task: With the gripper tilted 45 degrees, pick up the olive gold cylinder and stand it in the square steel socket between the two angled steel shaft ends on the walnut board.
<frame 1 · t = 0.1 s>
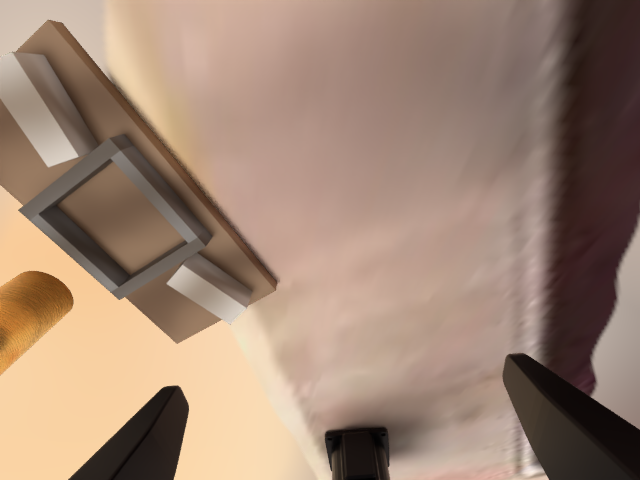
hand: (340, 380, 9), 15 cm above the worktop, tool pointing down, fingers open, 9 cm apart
olive gold cylinder: (43, 294, 25), on the worktop
shaft rig: (135, 214, 22), on the worktop
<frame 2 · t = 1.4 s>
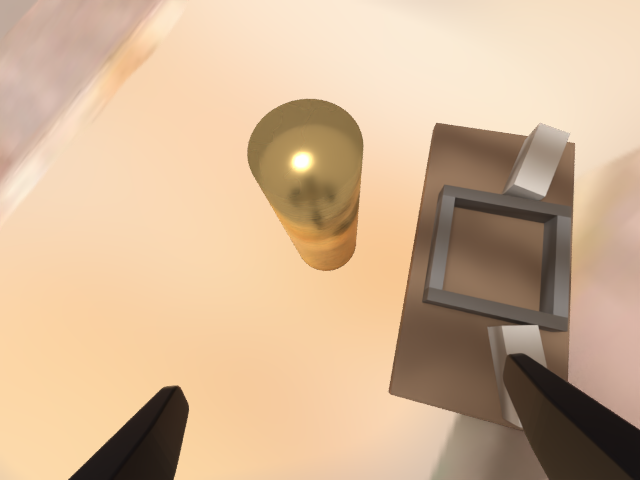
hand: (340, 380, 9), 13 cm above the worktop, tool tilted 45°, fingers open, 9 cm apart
olive gold cylinder: (326, 241, 24), on the worktop
shaft rig: (484, 261, 23), on the worktop
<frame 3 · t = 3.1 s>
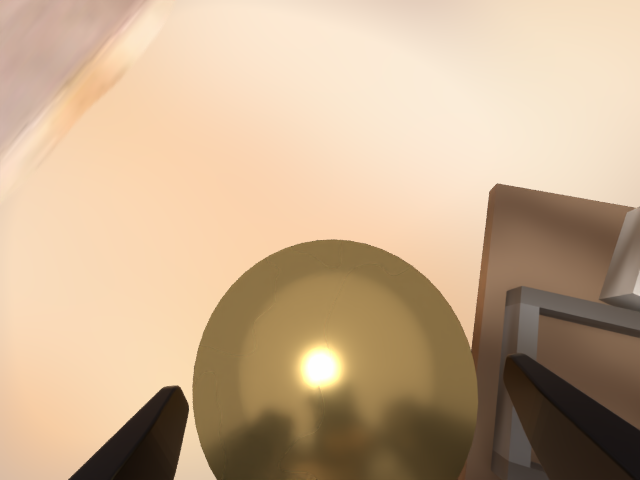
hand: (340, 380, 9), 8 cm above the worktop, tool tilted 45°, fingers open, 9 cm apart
olive gold cylinder: (343, 353, 17), on the worktop
shaft rig: (577, 395, 15), on the worktop
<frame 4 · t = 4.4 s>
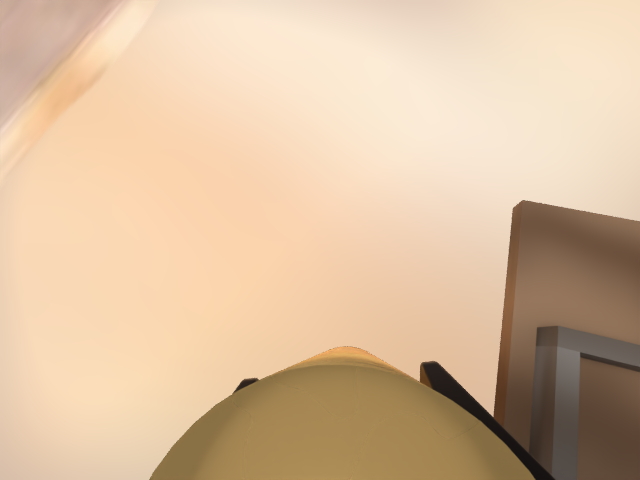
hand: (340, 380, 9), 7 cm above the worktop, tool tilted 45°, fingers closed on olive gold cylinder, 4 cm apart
olive gold cylinder: (347, 397, 15), on the worktop, touching gripper
shaft rig: (621, 451, 13), on the worktop
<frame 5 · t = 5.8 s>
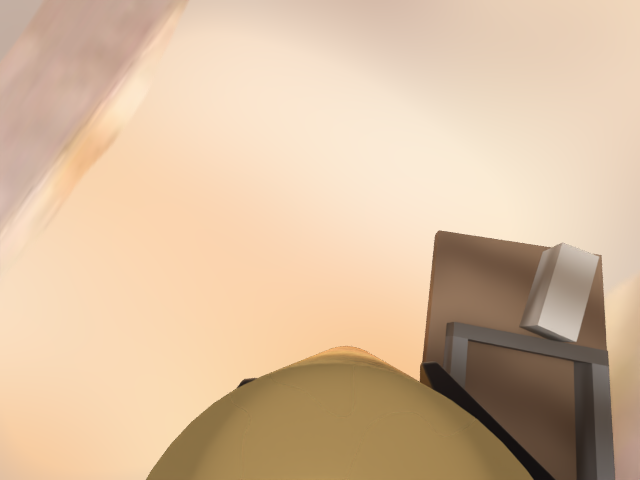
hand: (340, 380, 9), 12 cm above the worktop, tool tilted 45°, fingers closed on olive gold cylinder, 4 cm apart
olive gold cylinder: (346, 396, 15), point 6 cm above the worktop, touching gripper
shaft rig: (505, 405, 19), on the worktop
when the fingers open (9 cm above the worktop, at t = 7.6 s): olive gold cylinder drops 1 cm, resting on shaft rig.
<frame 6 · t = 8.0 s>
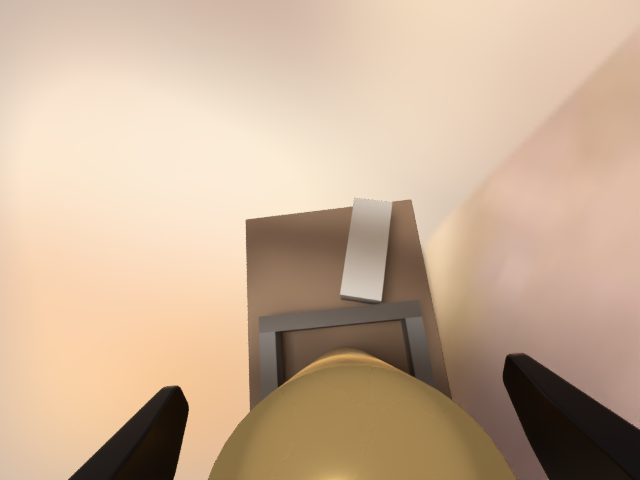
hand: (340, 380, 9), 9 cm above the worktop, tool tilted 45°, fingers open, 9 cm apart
olive gold cylinder: (347, 393, 16), point 1 cm above the worktop, touching shaft rig
shaft rig: (347, 389, 17), on the worktop
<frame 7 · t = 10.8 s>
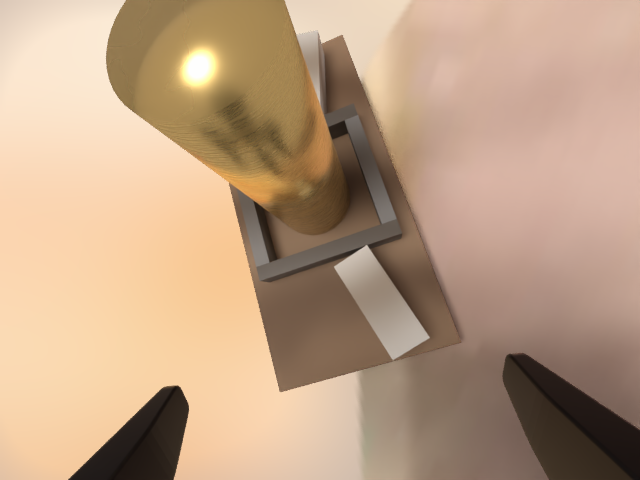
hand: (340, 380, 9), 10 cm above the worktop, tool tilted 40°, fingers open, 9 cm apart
olive gold cylinder: (313, 199, 19), point 1 cm above the worktop, touching shaft rig
shaft rig: (317, 203, 20), on the worktop
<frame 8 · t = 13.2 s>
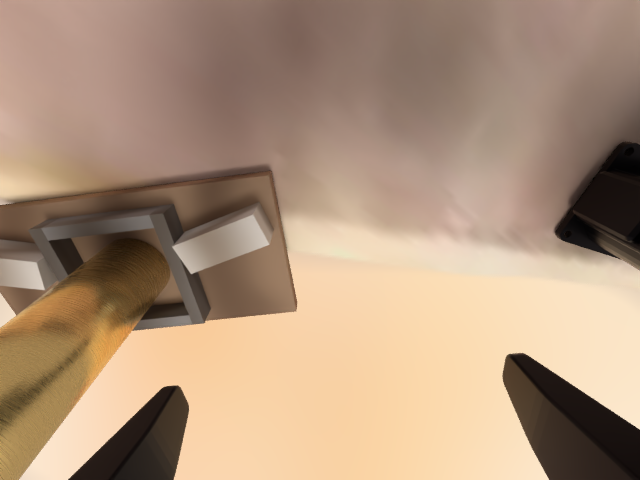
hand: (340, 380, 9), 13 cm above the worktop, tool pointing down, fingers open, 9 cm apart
olive gold cylinder: (136, 268, 21), point 1 cm above the worktop, touching shaft rig
shaft rig: (142, 259, 22), on the worktop
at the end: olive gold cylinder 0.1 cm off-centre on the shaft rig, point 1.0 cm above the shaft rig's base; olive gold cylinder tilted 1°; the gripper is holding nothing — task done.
